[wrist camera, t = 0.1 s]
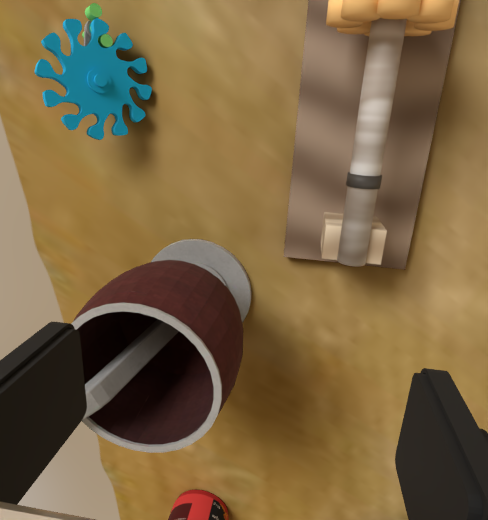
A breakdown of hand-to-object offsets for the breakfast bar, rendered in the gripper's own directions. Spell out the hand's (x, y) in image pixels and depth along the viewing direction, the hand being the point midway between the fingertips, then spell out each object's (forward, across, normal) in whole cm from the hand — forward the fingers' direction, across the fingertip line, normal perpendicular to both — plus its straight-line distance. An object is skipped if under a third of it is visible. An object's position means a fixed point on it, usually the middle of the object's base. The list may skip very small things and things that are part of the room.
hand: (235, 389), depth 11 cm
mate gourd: (+31, +10, +12) cm, 35 cm away
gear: (+32, +18, -10) cm, 38 cm away
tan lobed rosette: (+29, -6, -15) cm, 33 cm away
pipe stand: (+31, -6, -9) cm, 33 cm away
